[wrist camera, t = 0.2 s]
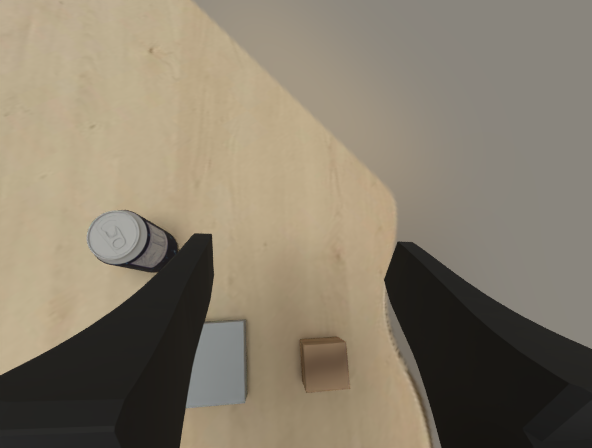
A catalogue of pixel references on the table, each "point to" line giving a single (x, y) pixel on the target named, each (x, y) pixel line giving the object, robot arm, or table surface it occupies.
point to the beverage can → (130, 241)
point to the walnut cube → (324, 364)
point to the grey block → (219, 365)
